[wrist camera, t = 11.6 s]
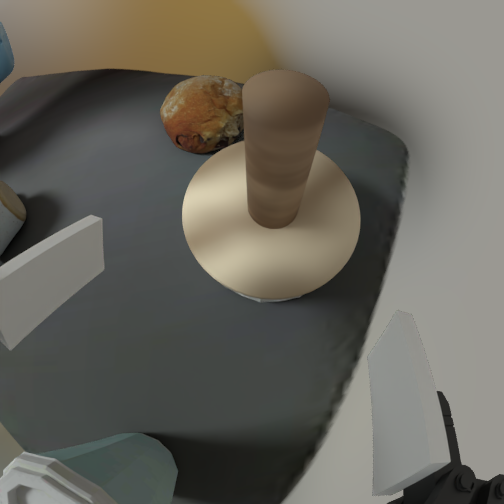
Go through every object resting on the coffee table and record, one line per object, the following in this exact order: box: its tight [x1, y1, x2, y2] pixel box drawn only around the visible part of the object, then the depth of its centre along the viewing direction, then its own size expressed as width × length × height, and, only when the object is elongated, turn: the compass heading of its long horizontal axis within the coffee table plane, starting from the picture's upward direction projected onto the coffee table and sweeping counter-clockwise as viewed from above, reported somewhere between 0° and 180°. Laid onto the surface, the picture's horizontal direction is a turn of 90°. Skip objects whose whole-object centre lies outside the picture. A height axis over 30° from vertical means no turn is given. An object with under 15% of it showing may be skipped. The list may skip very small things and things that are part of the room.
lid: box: [182, 70, 361, 300], centre depth 15 cm, size 13×13×11 cm
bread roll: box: [160, 75, 244, 153], centre depth 28 cm, size 10×10×8 cm
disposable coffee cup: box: [0, 433, 178, 504], centre depth 11 cm, size 11×11×15 cm
